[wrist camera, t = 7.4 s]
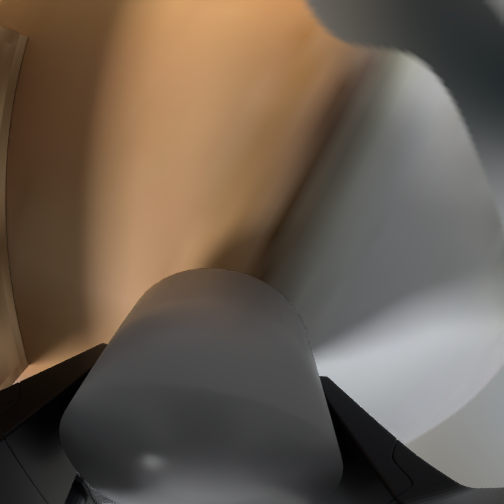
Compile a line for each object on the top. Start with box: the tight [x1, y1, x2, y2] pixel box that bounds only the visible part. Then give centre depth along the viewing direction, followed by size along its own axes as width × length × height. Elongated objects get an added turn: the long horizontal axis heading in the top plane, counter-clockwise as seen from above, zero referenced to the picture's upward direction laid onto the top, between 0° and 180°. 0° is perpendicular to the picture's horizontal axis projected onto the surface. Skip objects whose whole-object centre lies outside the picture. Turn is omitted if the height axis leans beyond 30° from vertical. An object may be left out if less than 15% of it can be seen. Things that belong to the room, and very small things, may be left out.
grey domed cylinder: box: [59, 268, 343, 504], centre depth 7 cm, size 6×6×5 cm
